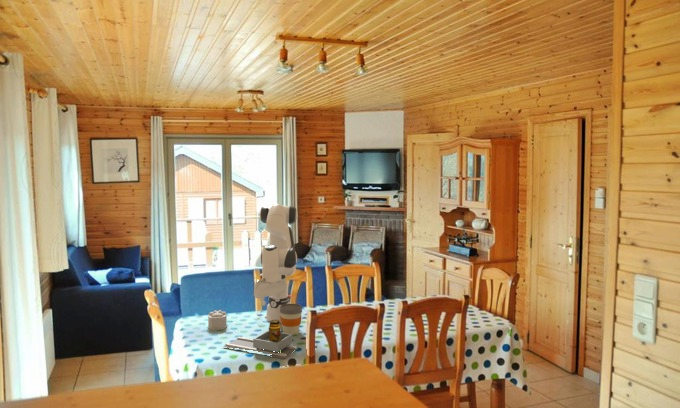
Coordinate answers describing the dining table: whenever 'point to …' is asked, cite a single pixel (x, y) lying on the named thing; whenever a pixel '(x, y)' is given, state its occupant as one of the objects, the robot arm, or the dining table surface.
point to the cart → (263, 342)
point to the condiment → (274, 331)
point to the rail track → (248, 345)
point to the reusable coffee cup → (291, 318)
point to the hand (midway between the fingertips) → (270, 303)
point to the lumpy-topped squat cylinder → (217, 320)
